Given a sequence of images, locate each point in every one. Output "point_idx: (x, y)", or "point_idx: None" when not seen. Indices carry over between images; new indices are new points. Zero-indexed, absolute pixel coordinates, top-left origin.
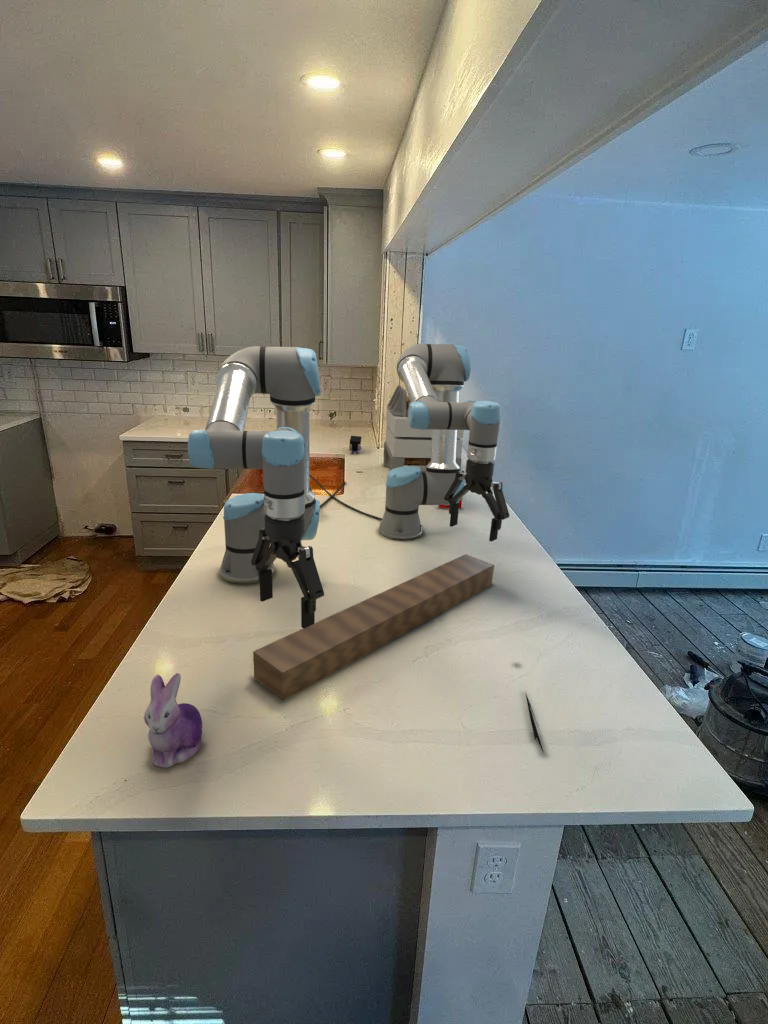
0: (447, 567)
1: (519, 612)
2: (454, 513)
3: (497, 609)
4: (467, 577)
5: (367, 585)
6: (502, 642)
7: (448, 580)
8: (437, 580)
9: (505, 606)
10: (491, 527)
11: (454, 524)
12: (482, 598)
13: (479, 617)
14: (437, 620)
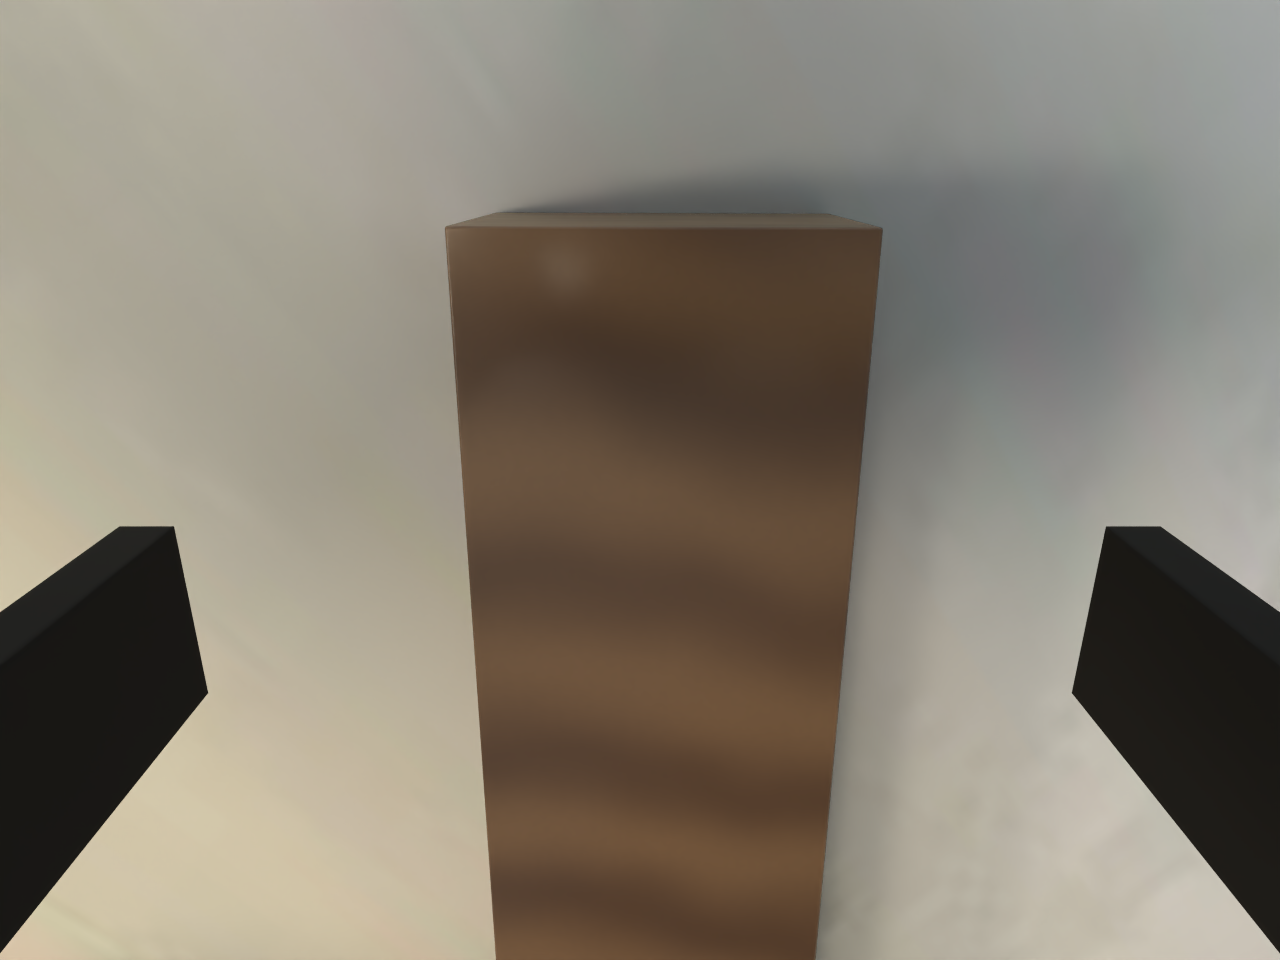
0: (551, 670)
1: (1237, 466)
2: (18, 855)
3: (1070, 550)
4: (826, 704)
5: (186, 904)
6: None
7: (732, 857)
8: (665, 914)
9: (1103, 465)
10: (1267, 913)
11: (178, 629)
12: (891, 489)
13: (1013, 728)
14: None
